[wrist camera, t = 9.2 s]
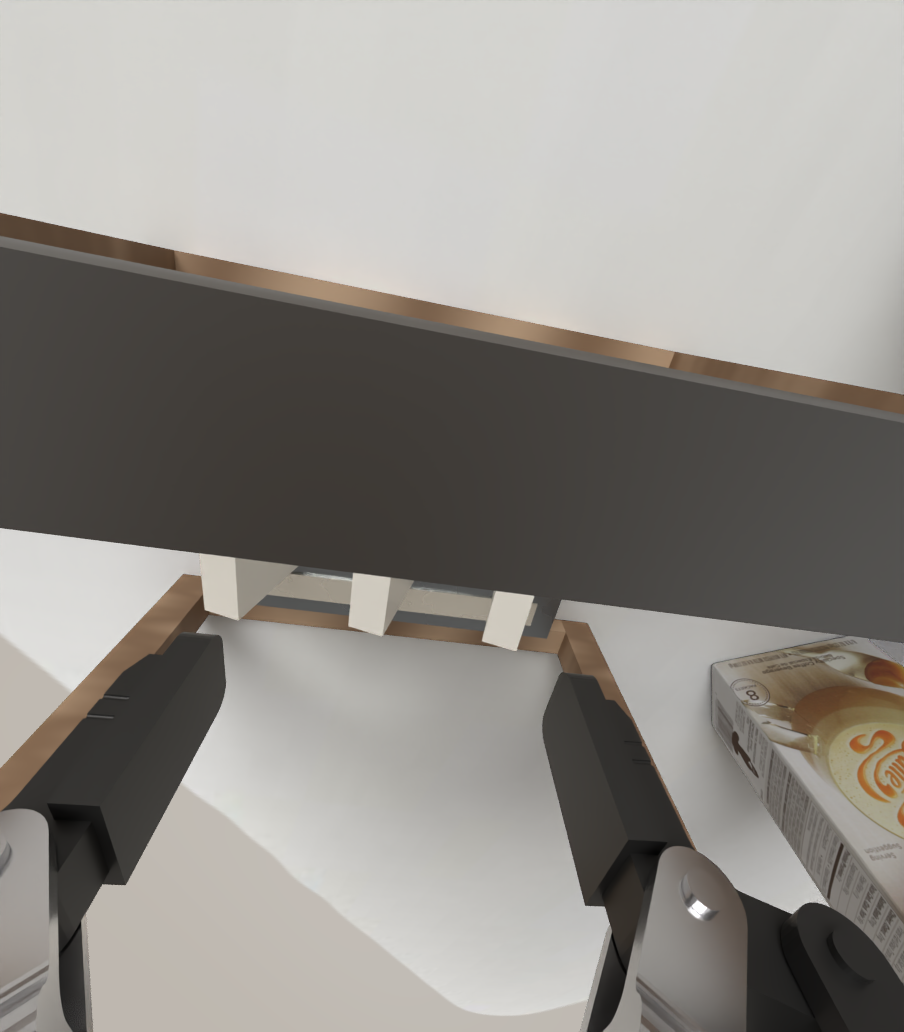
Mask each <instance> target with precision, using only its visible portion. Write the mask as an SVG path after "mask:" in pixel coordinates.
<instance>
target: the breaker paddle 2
mask: <svg viewBox="0 0 904 1032" xmlns="http://www.w3.org/2000/svg"><path fill="white" fill-rule="evenodd" d="M533 599H534V596H531V595H524V594H516V593H508V592H500V591H493V596H492V600H491V604H490V608H489V613H488V617H487V621H486V625H485V629H484V634H483V638H482V641H483V642H486V643H489V644H493V645H496V646H499V647H503V648H506V649H509V650H513V651H516V650H517V647H518V644H519V641H520V638H521V635H522V632H523V629H524V626H525V623H526V620H527V617H528V614H529V611H530V608H531V605H532V602H533Z"/></svg>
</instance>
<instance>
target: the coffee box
mask: <svg viewBox="0 0 904 1032" xmlns="http://www.w3.org/2000/svg"><path fill="white" fill-rule="evenodd" d="M712 725H713V727H714V729H715V730H716V732H717V733H718V735H719V736H720V738H721V739H722V741H723V742H724V744H725V745H726V747H727V748H728V750H729V751H730V753H731V754H732V756H733V758H734V759H735V761H736V762H737V764H738V765H739V767H740V768H741V770H742V772H743V773H744V775H745V776H746V778H747V779H748V781H749V782H750V784H751V785H752V787H753V789H754V790H755V792H756V793H757V795H758V796H759V798H760V799H761V801H762V802H763V804H764V806H765V807H766V809H767V810H768V812H769V813H770V815H771V817H772V818H773V820H774V821H775V823H776V824H777V826H778V827H779V829H780V830H781V832H782V833H783V835H784V837H785V838H786V840H787V841H788V843H789V844H790V846H791V847H792V849H793V850H794V852H795V854H796V855H797V857H798V858H799V860H800V861H801V863H802V864H803V866H804V868H805V869H806V871H807V872H808V874H809V875H810V877H811V878H812V880H813V881H814V883H815V884H816V886H817V888H818V889H819V891H820V892H821V894H822V895H823V897H824V898H825V900H826V901H827V903H828V904H829V906H830V907H831V908H832V909H834V910H836V911H838V912H839V913H841V914H842V915H844V916H845V917H847V918H848V919H849V920H850V921H852V922H853V923H854V924H855V925H857V926H858V927H859V928H860V929H861V930H862V931H863V932H864V933H865V934H866V935H867V936H868V937H869V938H870V939H871V940H872V941H873V942H874V944H875V945H876V946H877V947H878V948H879V950H880V951H881V952H882V953H883V955H884V956H885V958H886V959H887V960H888V962H889V963H890V965H891V966H892V968H893V969H894V971H895V972H896V974H897V975H898V977H899V979H900V980H901V982H902V983H903V985H904V667H903V666H902V665H900V664H899V663H898V662H896V661H895V660H894V659H892V658H891V657H890V656H889V655H887V654H886V653H885V652H884V651H882V650H881V649H880V648H878V647H877V646H876V645H875V644H873V643H872V642H871V641H870V640H868V639H867V638H862V637H854V636H846V637H841V638H836V639H831V640H826V641H821V642H816V643H811V644H806V645H802V646H797V647H792V648H787V649H782V650H777V651H772V652H767V653H762V654H757V655H752V656H747V657H743V658H738V659H733V660H728V661H723V662H719V663H715V664H713V665H712Z"/></svg>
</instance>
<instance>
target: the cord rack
mask: <svg viewBox="0 0 904 1032" xmlns="http://www.w3.org/2000/svg"><path fill="white" fill-rule="evenodd" d="M0 528H5V529H13V530H20V531H28V532H36V533H44V534H52V535H60V536H68V537H76V538H83V539H91V540H99V541H107V542H115V543H123V544H131V545H138V546H146V547H154V548H162V549H170V550H178V551H186V552H193V553H201V554H209V555H217V556H225V557H233V558H241V559H248V560H256V561H264V562H272V563H280V564H288V565H296V566H303V567H311V568H319V569H327V570H335V571H343V572H351V573H358V574H366V575H374V576H382V577H390V578H398V579H406V580H414V581H421V582H429V583H437V584H445V585H453V586H461V587H469V588H476V589H484V590H492V591H500V592H508V593H516V594H524V595H531V596H539V597H547V598H555V599H563V600H571V601H579V602H586V603H594V604H602V605H610V606H618V607H626V608H634V609H641V610H649V611H657V612H665V613H673V614H681V615H689V616H697V617H704V618H712V619H720V620H728V621H736V622H744V623H752V624H759V625H767V626H775V627H783V628H791V629H799V630H807V631H814V632H822V633H830V634H838V635H846V636H854V637H862V638H869V639H877V640H885V641H893V642H901V643H904V395H901V394H896V393H891V392H885V391H880V390H875V389H869V388H864V387H859V386H853V385H848V384H843V383H837V382H832V381H827V380H821V379H816V378H811V377H806V376H800V375H795V374H790V373H784V372H779V371H774V370H768V369H763V368H758V367H752V366H747V365H742V364H736V363H731V362H726V361H721V360H715V359H710V358H705V357H699V356H694V355H689V354H683V353H678V352H673V351H668V350H663V349H658V348H653V347H648V346H643V345H638V344H633V343H628V342H623V341H619V340H614V339H609V338H604V337H599V336H594V335H589V334H584V333H579V332H574V331H569V330H564V329H559V328H554V327H549V326H545V325H540V324H535V323H530V322H525V321H520V320H515V319H510V318H505V317H500V316H495V315H490V314H485V313H480V312H475V311H470V310H466V309H461V308H456V307H451V306H446V305H441V304H436V303H431V302H426V301H421V300H416V299H411V298H406V297H401V296H396V295H391V294H387V293H382V292H377V291H372V290H367V289H362V288H357V287H352V286H347V285H342V284H337V283H332V282H327V281H322V280H317V279H313V278H308V277H303V276H298V275H293V274H288V273H283V272H278V271H273V270H268V269H263V268H258V267H253V266H248V265H243V264H238V263H234V262H229V261H224V260H219V259H214V258H209V257H204V256H199V255H194V254H189V253H184V252H179V251H174V250H170V249H165V248H160V247H156V246H151V245H146V244H142V243H137V242H133V241H128V240H123V239H119V238H114V237H109V236H105V235H100V234H96V233H91V232H86V231H82V230H77V229H72V228H68V227H63V226H58V225H54V224H49V223H45V222H40V221H35V220H31V219H26V218H21V217H17V216H12V215H7V214H3V213H0ZM208 615H215V616H222V615H219V614H216V613H213V612H209V611H206V610H205V608H204V598H203V588H202V578H201V576H194V575H186V574H183V575H182V576H181V577H180V578H179V579H178V580H177V582H176V583H175V584H174V585H173V586H172V587H171V588H170V589H169V590H168V591H167V592H166V593H165V594H164V595H163V596H162V597H161V598H160V600H159V601H158V602H157V603H156V604H155V605H154V606H153V607H152V608H151V609H150V610H149V611H148V612H147V613H146V614H145V615H144V617H143V618H142V619H141V620H140V621H139V622H138V623H137V624H136V625H135V626H134V627H133V628H132V629H131V630H130V631H129V632H128V634H127V635H126V636H125V637H124V638H123V639H122V640H121V641H120V642H119V643H118V644H117V645H116V646H115V647H114V648H113V649H112V650H111V652H110V653H109V654H108V655H107V656H106V657H105V658H104V659H103V660H102V661H101V662H100V663H99V664H98V665H97V666H96V667H95V669H94V670H93V671H92V672H91V673H90V674H89V675H88V676H87V677H86V678H85V679H84V680H83V681H82V682H81V683H80V684H79V686H78V687H77V688H76V689H75V690H74V691H73V692H72V693H71V694H70V695H69V696H68V697H67V698H66V699H65V700H64V702H63V703H62V704H61V705H60V706H59V707H58V708H57V709H56V710H55V711H54V712H53V713H52V714H51V715H50V716H49V717H48V718H47V719H46V721H45V722H44V723H43V724H42V725H41V726H40V727H39V728H38V729H37V730H36V731H35V732H34V733H33V734H32V735H31V736H30V738H29V739H28V740H27V741H26V742H25V743H24V744H23V745H22V746H21V747H20V748H19V749H18V750H17V751H16V752H15V753H14V755H13V756H12V757H11V758H10V759H9V760H8V761H7V762H6V763H5V764H4V765H3V766H2V767H1V768H0V812H1V811H2V810H3V809H4V808H5V807H6V806H7V805H9V803H10V802H11V801H12V800H13V799H14V798H15V797H16V796H17V795H18V794H19V793H20V791H21V790H22V789H23V788H24V787H25V786H26V784H27V783H28V782H29V781H30V780H31V779H32V777H33V776H34V775H35V774H36V773H37V772H38V770H39V769H40V768H41V767H42V766H43V765H44V763H45V762H46V761H47V760H48V759H49V757H50V756H51V755H52V754H53V753H54V752H55V750H56V749H57V748H58V747H59V746H60V745H61V743H62V742H63V741H64V740H65V739H66V738H67V736H68V735H69V734H70V733H71V732H72V731H73V729H74V728H75V727H76V726H77V725H78V724H79V722H80V721H81V720H82V719H83V718H86V717H87V713H88V712H89V711H90V710H91V708H92V707H93V706H94V705H95V704H96V703H97V701H98V700H99V699H102V698H103V696H104V693H105V692H106V691H107V690H108V689H109V687H110V686H111V685H112V684H113V683H114V681H115V680H116V679H117V678H118V677H119V676H120V674H121V673H122V672H123V671H125V670H126V669H128V668H129V667H131V666H132V665H134V664H135V663H136V662H138V661H139V660H141V659H142V658H144V657H145V656H147V655H148V654H157V655H163V654H164V652H165V651H166V650H167V649H168V647H169V646H170V645H171V643H172V642H173V641H174V640H175V638H176V637H177V636H178V635H179V634H180V633H182V632H191V633H196V632H197V630H198V629H199V627H200V626H201V625H202V623H203V622H204V621H205V619H206V618H207V617H208ZM224 617H225V616H224ZM242 619H251V620H260V621H269V622H278V623H286V624H295V625H304V626H313V627H322V628H331V629H340V630H349V631H358V632H365V631H362V630H359V629H356V628H353V627H349V626H348V623H349V616H347V615H338V614H329V613H321V612H312V611H303V610H295V609H286V608H277V607H269V606H260V605H255V606H254V607H253V608H252V609H251V610H250V611H249V612H248V613H247V614H245V615H244V616H243V617H242ZM367 633H369V632H367ZM384 634H385V635H394V636H403V637H412V638H421V639H429V640H438V641H447V642H456V643H465V644H474V645H483V646H492V647H499V646H496V645H493V644H489V643H486V642H483V641H482V638H483V634H484V631H476V630H468V629H459V628H450V627H442V626H433V625H424V624H416V623H407V622H398V621H391V623H390V624H389V626H388V628H387V630H386V631H385V633H384ZM501 648H503V647H501ZM517 649H519V650H528V651H537V652H546V653H555V654H558V657H559V660H560V663H561V666H562V668H563V671H564V672H565V673H575V674H585V675H593V676H594V677H595V678H596V679H597V681H598V683H599V685H600V687H601V690H602V692H603V694H604V696H605V699H606V700H615V701H616V703H617V704H618V705H619V706H620V707H621V708H622V709H623V711H624V712H625V713H626V714H627V715H628V716H629V717H630V719H631V720H632V722H633V724H634V726H635V728H636V730H637V732H638V734H639V736H640V738H641V741H642V746H643V747H645V749H646V751H647V753H648V755H649V757H650V759H651V765H652V766H654V768H655V770H656V772H657V774H658V776H659V778H660V780H661V782H662V784H663V787H664V789H665V791H666V793H667V795H668V797H669V799H670V801H671V803H672V805H673V807H674V810H675V812H676V814H677V816H678V818H679V820H680V822H681V824H682V826H683V828H684V831H685V833H686V835H687V837H688V839H689V841H690V843H691V844H692V846H693V848H694V849H695V851H697V850H696V848H695V846H694V844H693V842H692V840H691V838H690V835H689V833H688V831H687V829H686V827H685V825H684V823H683V821H682V819H681V817H680V815H679V813H678V810H677V808H676V806H675V804H674V802H673V800H672V798H671V796H670V794H669V792H668V790H667V788H666V786H665V783H664V781H663V779H662V777H661V775H660V773H659V771H658V769H657V767H656V765H655V763H654V761H653V758H652V756H651V754H650V752H649V750H648V748H647V746H646V744H645V742H644V740H643V738H642V736H641V734H640V731H639V729H638V727H637V725H636V723H635V721H634V719H633V717H632V715H631V713H630V711H629V709H628V707H627V704H626V702H625V700H624V698H623V696H622V694H621V692H620V690H619V688H618V686H617V684H616V682H615V679H614V677H613V675H612V673H611V671H610V669H609V667H608V665H607V663H606V661H605V659H604V657H603V655H602V652H601V650H600V648H599V646H598V644H597V642H596V640H595V638H594V636H593V634H592V632H591V630H590V627H589V625H588V623H581V622H573V621H565V620H556V619H554V621H553V624H552V627H551V629H550V632H549V635H548V637H547V639H545V638H537V637H528V636H521V638H520V641H519V644H518V647H517Z"/></svg>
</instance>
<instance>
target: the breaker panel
mask: <svg viewBox="0 0 904 1032" xmlns="http://www.w3.org/2000/svg"><path fill="white" fill-rule="evenodd" d="M352 579H353V573H351V572H343V571H335V570H327V569H319V568H311V567H303V566H298V567H297V568H296V569H295V570H294V571H292V572H291V573H290V574H289V575H288V576H287V577H286V578H285V579H284V580H283V581H281V582H280V583H279V584H278V585H277V586H276V587H275V588H274V589H273V590H272V591H271V592H269V593H268V594H267V595H266V596H265V597H264V598H263V599H262V600H261V601H260V602H259V603H257V604H256V605H260V606H269V607H277V608H286V609H295V610H303V611H312V612H321V613H329V614H338V615H347V616H349V612H350V601H351V590H352ZM492 596H493V591H492V590H484V589H476V588H469V587H461V586H453V585H445V584H437V583H429V582H421V581H414V582H413V584H412V585H411V587H410V589H409V591H408V592H407V594H406V596H405V598H404V599H403V601H402V603H401V605H400V607H399V608H398V610H397V612H396V614H395V615H394V617H393V619H392V621H398V622H407V623H416V624H424V625H433V626H442V627H450V628H459V629H468V630H476V631H484V629H485V625H486V621H487V617H488V613H489V608H490V604H491V600H492ZM560 602H561V599H555V598H547V597H539V596H534V599H533V602H532V605H531V608H530V611H529V614H528V617H527V620H526V623H525V626H524V629H523V632H522V635H521V636H528V637H537V638H545V639H547V637H548V635H549V632H550V629H551V627H552V624H553V621H554V618H555V616H556V613H557V610H558V607H559V605H560Z"/></svg>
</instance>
